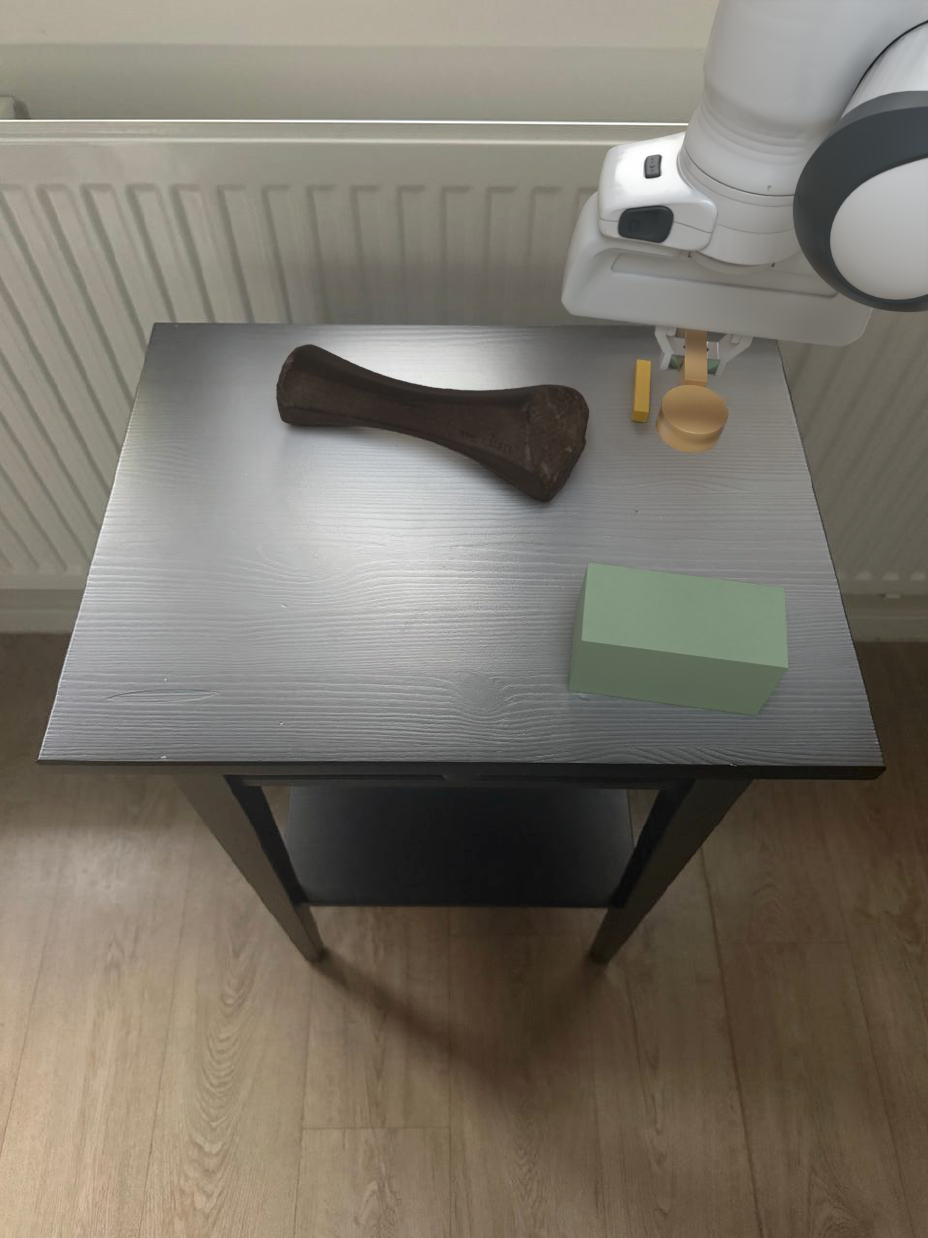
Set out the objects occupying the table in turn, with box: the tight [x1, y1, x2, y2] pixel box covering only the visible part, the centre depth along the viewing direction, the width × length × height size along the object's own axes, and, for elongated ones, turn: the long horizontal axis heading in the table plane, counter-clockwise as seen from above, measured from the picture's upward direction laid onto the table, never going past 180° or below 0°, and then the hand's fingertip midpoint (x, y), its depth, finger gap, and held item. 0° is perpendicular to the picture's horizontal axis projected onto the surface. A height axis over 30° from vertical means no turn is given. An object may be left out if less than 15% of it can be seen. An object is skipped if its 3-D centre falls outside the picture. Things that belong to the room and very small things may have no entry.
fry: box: [631, 359, 652, 423], centre depth 92 cm, size 1×7×1 cm, turn 172°
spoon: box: [655, 328, 729, 454], centre depth 67 cm, size 14×5×2 cm, turn 173°
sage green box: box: [567, 562, 790, 716], centre depth 73 cm, size 15×7×8 cm, turn 82°
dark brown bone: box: [275, 343, 590, 503], centre depth 85 cm, size 11×10×28 cm
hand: (689, 367), depth 68 cm, fingers closed on spoon, 2 cm apart
